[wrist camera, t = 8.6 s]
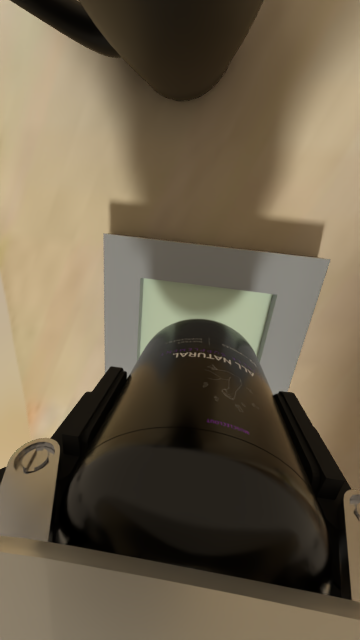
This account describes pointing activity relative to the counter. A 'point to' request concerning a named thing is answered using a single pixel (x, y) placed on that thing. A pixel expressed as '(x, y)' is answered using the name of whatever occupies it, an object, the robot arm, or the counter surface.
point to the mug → (157, 36)
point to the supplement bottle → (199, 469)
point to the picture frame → (208, 297)
